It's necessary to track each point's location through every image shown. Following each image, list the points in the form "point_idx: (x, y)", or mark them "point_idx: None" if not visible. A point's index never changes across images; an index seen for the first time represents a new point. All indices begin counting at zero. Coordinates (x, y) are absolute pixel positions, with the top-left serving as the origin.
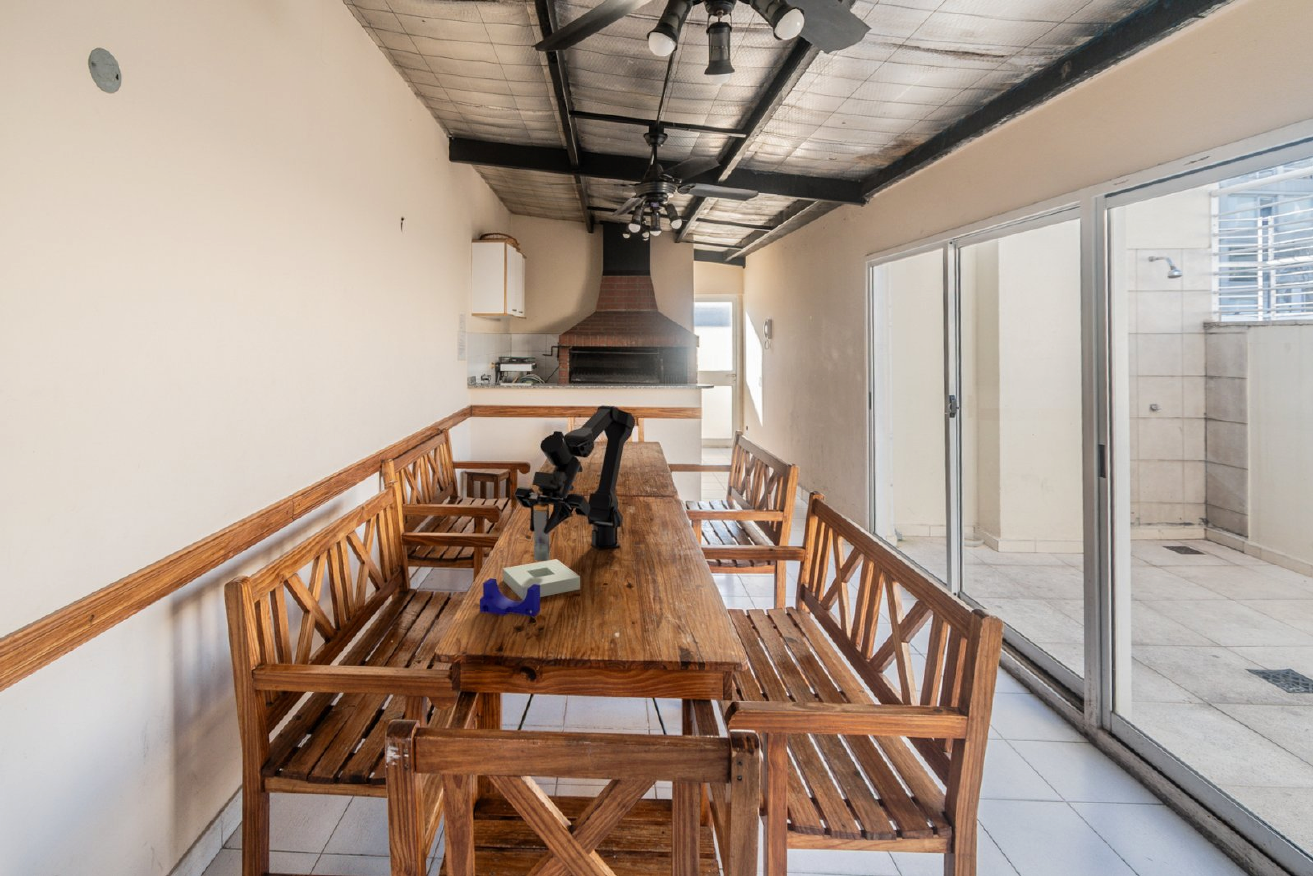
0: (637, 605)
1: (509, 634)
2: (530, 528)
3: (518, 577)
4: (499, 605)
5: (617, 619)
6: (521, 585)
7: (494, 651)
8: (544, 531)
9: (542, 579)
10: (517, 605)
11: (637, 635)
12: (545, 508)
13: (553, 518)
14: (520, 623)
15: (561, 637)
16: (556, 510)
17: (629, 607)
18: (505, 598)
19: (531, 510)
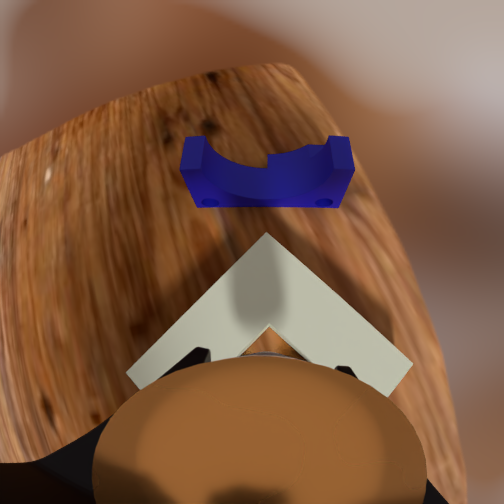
0: (19, 299)
1: (217, 107)
2: (346, 369)
3: (325, 308)
4: (287, 159)
5: (44, 225)
6: (280, 247)
7: (217, 71)
8: (207, 349)
9: (236, 318)
10: (241, 165)
11: (25, 184)
12: (123, 414)
13: (109, 419)
14: (216, 143)
15: (126, 130)
16: (54, 477)
17: (29, 285)
18: (294, 190)
19: (433, 496)
